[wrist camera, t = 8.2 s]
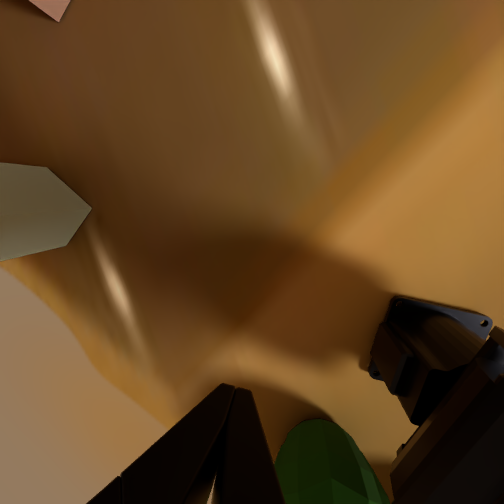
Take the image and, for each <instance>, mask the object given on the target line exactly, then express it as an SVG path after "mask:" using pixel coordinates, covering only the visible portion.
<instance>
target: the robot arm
mask: <svg viewBox="0 0 504 504" xmlns="http://www.w3.org/2000/svg"><path fill="white" fill-rule="evenodd" d="M399 301H402V303H401V305H399V306H396V303H397V302H399ZM483 320H484V323H483V324H480V322H481V321H483ZM492 323H493V322H492V320H491V319H490V318H489V317H488V316H486V315H484V314H480V313H475V312H471V311H466V310H462V309H457V308H453V307H448V306H443V305H439V304H434V303H430V302H425V301H421V300H416V299H412V298H407V297H403V296H395V297H393V298H392V299H391V301H390V304H389V307H388V310H387V313H386V316H385V319H384V321H383V322H382V323H380V324H379V327H378V330H377V333H376V336H375V339H374V342H373V345H372V348H371V351H370V354H371V356H372V358H371V361H370V364H369V367H368V372H369V374H370V376H371V377H372V378H373V379H376V380H380V381H384V382H385V384H386V386H387V388H388V390H389V391H390V393H391V394H392V395H396V396H397V397H398V399H399V401H400V403H401V405H402V407H403V408H404V410H405V412H406V414H407V416H408V418H409V420H410V422H411V423H412V424H414V425H418V426H419V427H418V428H417V430H416V431H415V432H414V433H413V435H412V436H411V437H410V438H409V440H408V441H407V442H406V443H405V444H402V445H401V446H400V447H399V449H398V450H397V457H396V459H395V460H394V461H393V464H392V468H391V472H390V478H391V484H392V490H393V495H394V498H395V499H394V501H393V502H392V504H504V330H503V329H501V328H499V327H497V326H495V327H494V328H493V329H492V330H491V332H490V333H489V331H490V329H491V327H492ZM488 335H489V336H490V337H489V339H488V340H487V341H486V338H487V336H488ZM375 370H378V372H376V373H373V372H374V371H375ZM216 472H217V473H216ZM215 476H216V478H215ZM214 480H215V483H214ZM213 483H214V488H213V494H212V501H211V504H286V502H285V499H284V496H283V492H282V489H281V486H280V483H279V479H278V476H277V473H276V470H275V466H274V463H273V460H272V457H271V453H270V450H269V447H268V443H267V440H266V437H265V434H264V430H263V427H262V424H261V421H260V417H259V414H258V411H257V408H256V404H255V401H254V398H253V394H252V392H251V391H250V390H248V389H244V388H240V387H238V388H235V386H232V385H228V384H225V383H222V384H220V385H219V386H218V387H217V388H215V389H214V390H213V391H212V392H211V393H210V394H209V395H208V396H207V397H205V398H204V399H203V400H202V401H201V402H200V403H199V404H198V405H197V406H195V407H194V408H193V409H192V410H191V411H190V412H189V413H188V414H186V415H185V416H184V417H183V418H182V419H181V420H180V421H179V422H178V423H176V424H175V425H174V426H173V427H172V428H171V429H170V430H169V431H168V432H166V433H165V434H164V435H163V436H162V437H161V438H160V439H159V440H158V441H157V442H155V443H154V444H153V445H152V446H151V447H150V448H149V449H147V450H146V451H145V452H144V453H143V454H142V455H141V456H140V457H138V459H136V460H135V461H134V462H133V463H132V464H131V465H130V466H128V467H127V468H126V469H125V470H124V471H123V472H122V473H121V475H120V476H117V477H116V478H115V479H114V480H113V481H111V482H110V483H109V484H108V485H107V486H106V487H105V488H104V489H103V490H102V491H100V492H99V493H98V494H97V495H96V496H94V497H93V498H92V499H91V500H90V501H89V502H87V503H86V504H207V501H208V498H209V495H210V492H211V489H212V486H213Z"/></svg>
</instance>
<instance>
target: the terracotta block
mask: <svg viewBox="0 0 504 504" xmlns="http://www.w3.org/2000/svg"><path fill="white" fill-rule="evenodd" d="M29 1H30V2H32V3H33V4H34V5H36V6H37V7H38V8H40V9H41V10H42V11H44V12H45V13H47V14H48V15H49V16H51V17H52V18H53V19H55V20H56V21H57V22H59V21H60V19H61V17H62V15H63V13H64V11H65V9H66V8H67V6H68V4H69V2H70V0H29Z"/></svg>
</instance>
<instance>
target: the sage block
mask: <svg viewBox="0 0 504 504" xmlns="http://www.w3.org/2000/svg"><path fill="white" fill-rule="evenodd" d="M91 209H92V208H91V207H90V206H89V205H88V204H87V203H86V202H85V201H84V200H82V199H81V198H80V197H79V196H78V195H77V194H76V193H75V192H74V191H72V190H71V189H70V188H69V187H68V186H67V185H66V184H65V183H64V182H62V181H61V180H60V179H59V178H58V177H57V176H56V175H55V174H54V173H52V172H51V171H50V170H49V169H48V168H47V167H39V166H29V165H20V164H10V163H1V162H0V261H4V260H8V259H13V258H17V257H21V256H25V255H30V254H34V253H38V252H42V251H46V250H51V249H55V248H59V247H63V246H66V245H67V244H68V242H69V241H70V239H71V238H72V237H73V235H74V234H75V232H76V231H77V229H78V228H79V227H80V225H81V224H82V222H83V221H84V219H85V218H86V217H87V215H88V214H89V212H90V211H91Z"/></svg>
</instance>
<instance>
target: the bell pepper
mask: <svg viewBox="0 0 504 504" xmlns="http://www.w3.org/2000/svg"><path fill="white" fill-rule="evenodd" d="M274 466H275V470H276V473H277V476H278V479H279V483H280V486H281V489H282V492H283V496H284V499H285V502H286V504H390V502H389V499H388V496H387V494H386V493H385V491H384V489H383V487H382V485H381V483H380V482H379V480H378V478H377V476H376V474H375V473H374V471H373V469H372V468H371V466H370V464H369V463H368V461H367V460H366V458H365V456H364V455H363V453H362V452H361V451H360V450H359V448H358V446H357V445H356V443H355V442H354V440H353V438H352V437H351V436H350V435H349V434H348V433H347V432H346V431H344V430H343V429H342V428H341V427H340V426H339V425H337V424H336V423H332V422H329V421H326V420H323V419H320V418H319V419H313V420H307V421H302V422H301V423H300V424H298V425H297V426H296V427H294V428H293V429H292V430H291V431H290V432H289V433H288V435H287V438H286V441H285V442H284V444H283V445H282V446H281V448H280V450H279V453H278V455H277V458H276V461H275V464H274Z"/></svg>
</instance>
